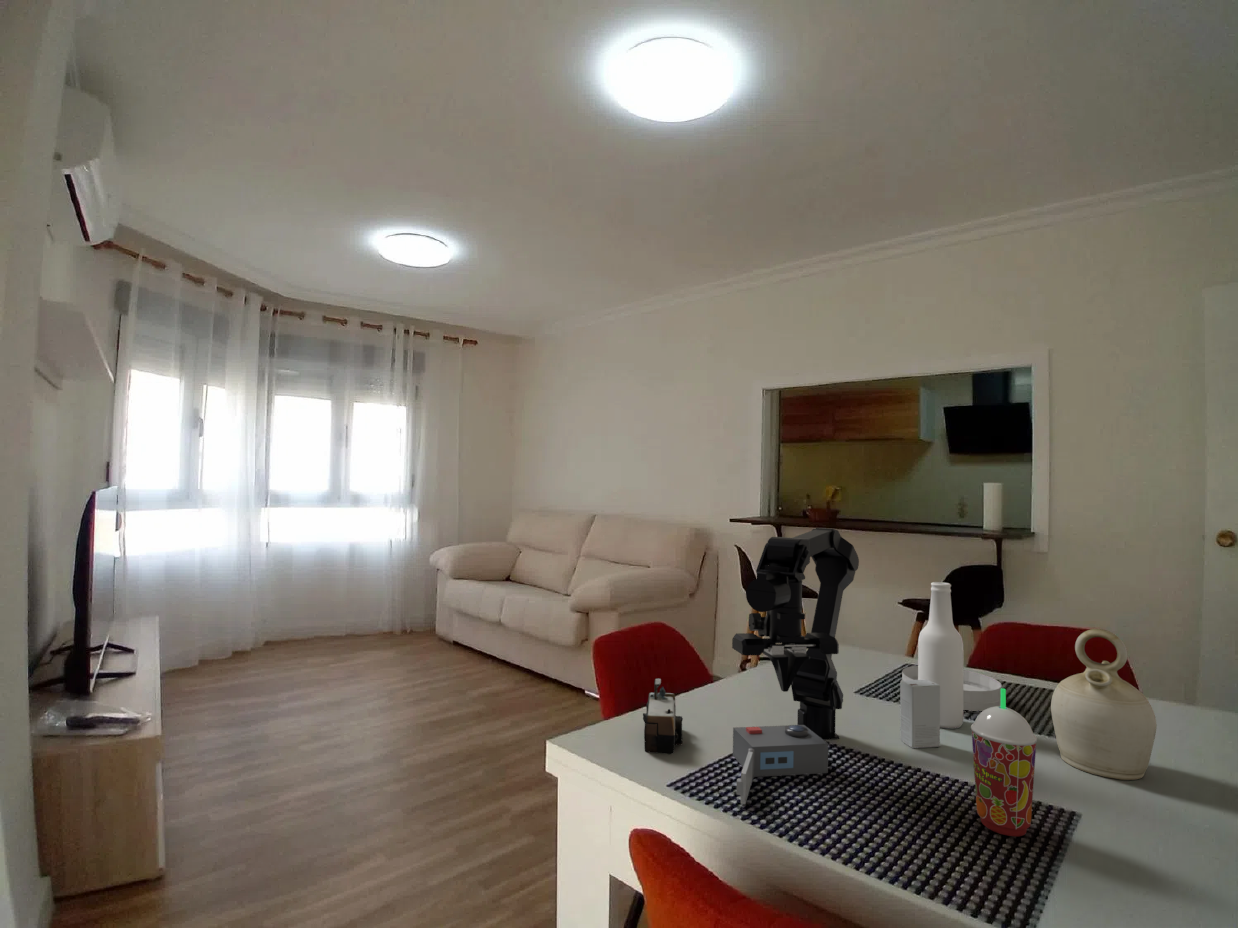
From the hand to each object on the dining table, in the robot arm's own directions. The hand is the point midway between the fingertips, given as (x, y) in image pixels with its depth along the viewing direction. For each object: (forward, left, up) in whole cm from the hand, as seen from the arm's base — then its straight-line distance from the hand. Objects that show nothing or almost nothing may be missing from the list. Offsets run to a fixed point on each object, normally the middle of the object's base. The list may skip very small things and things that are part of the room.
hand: (784, 690), depth 116 cm
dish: (-58, -30, -12) cm, 67 cm away
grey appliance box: (+2, +2, -12) cm, 12 cm away
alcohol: (-43, -14, -12) cm, 47 cm away
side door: (+12, +12, -12) cm, 21 cm away
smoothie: (-22, +27, -12) cm, 37 cm away
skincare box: (-30, -3, -12) cm, 33 cm away
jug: (-58, +10, -12) cm, 60 cm away
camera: (+20, -11, -12) cm, 26 cm away
